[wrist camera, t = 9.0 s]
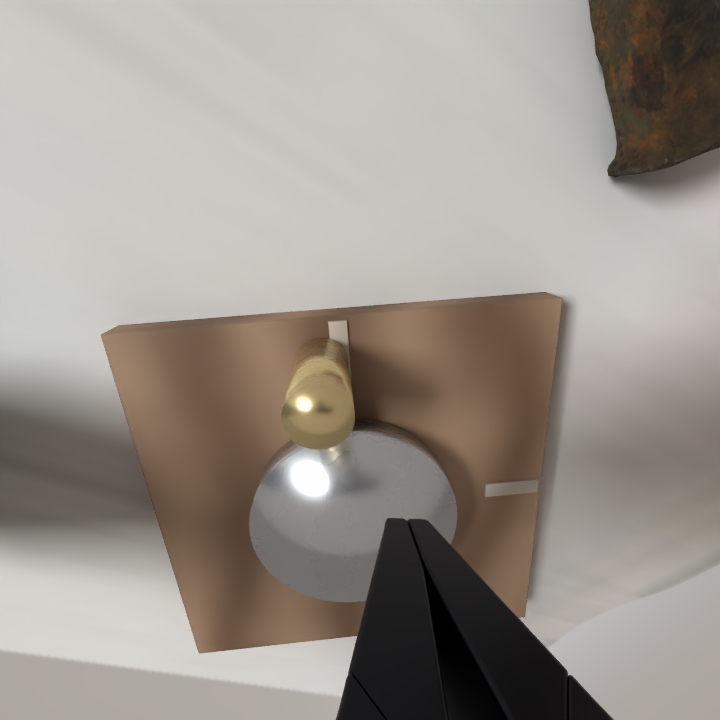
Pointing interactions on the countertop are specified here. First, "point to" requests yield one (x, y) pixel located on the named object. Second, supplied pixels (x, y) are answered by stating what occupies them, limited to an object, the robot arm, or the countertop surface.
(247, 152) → the countertop surface
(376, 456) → the dial
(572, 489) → the countertop surface
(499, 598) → the robot arm
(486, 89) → the countertop surface
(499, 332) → the dial panel
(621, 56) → the hand tool
